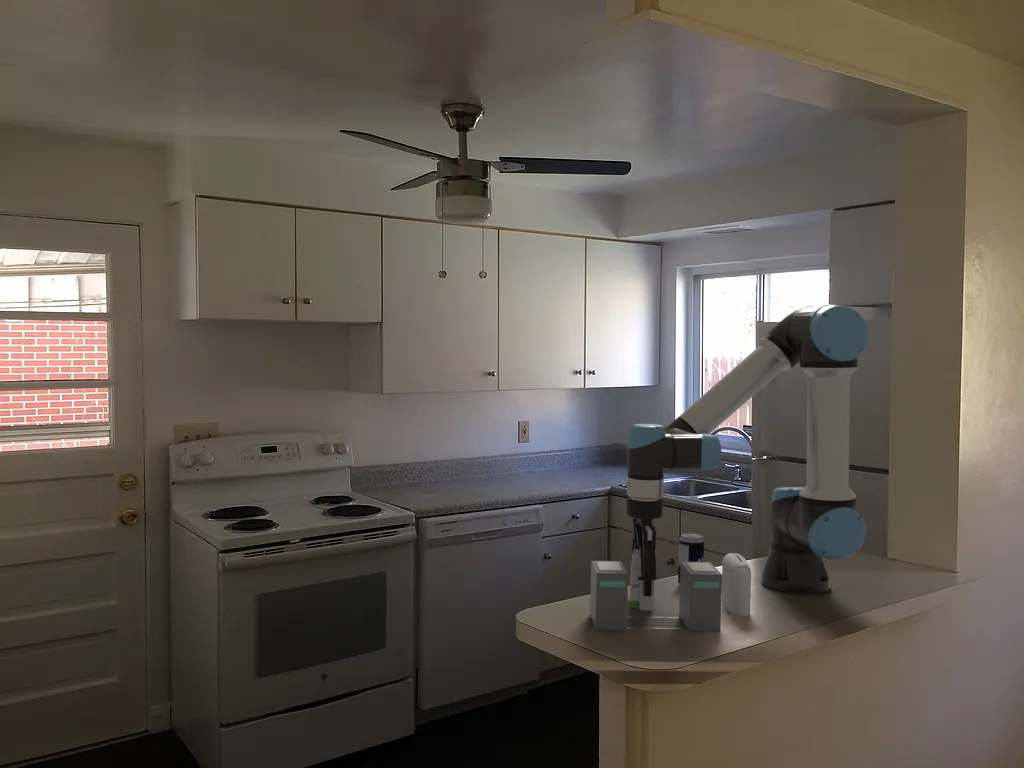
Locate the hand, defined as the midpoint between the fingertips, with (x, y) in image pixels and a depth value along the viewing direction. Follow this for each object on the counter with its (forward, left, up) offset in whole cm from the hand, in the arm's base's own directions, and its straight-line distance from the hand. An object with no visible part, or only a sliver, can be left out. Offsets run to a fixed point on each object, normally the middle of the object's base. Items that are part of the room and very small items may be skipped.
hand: (642, 602), depth 181 cm
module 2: (-9, +13, 0) cm, 16 cm away
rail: (0, +13, -1) cm, 13 cm away
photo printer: (-19, +3, -1) cm, 19 cm away
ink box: (0, 0, -1) cm, 1 cm away
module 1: (+9, +13, 0) cm, 16 cm away
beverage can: (-14, -16, -1) cm, 21 cm away
